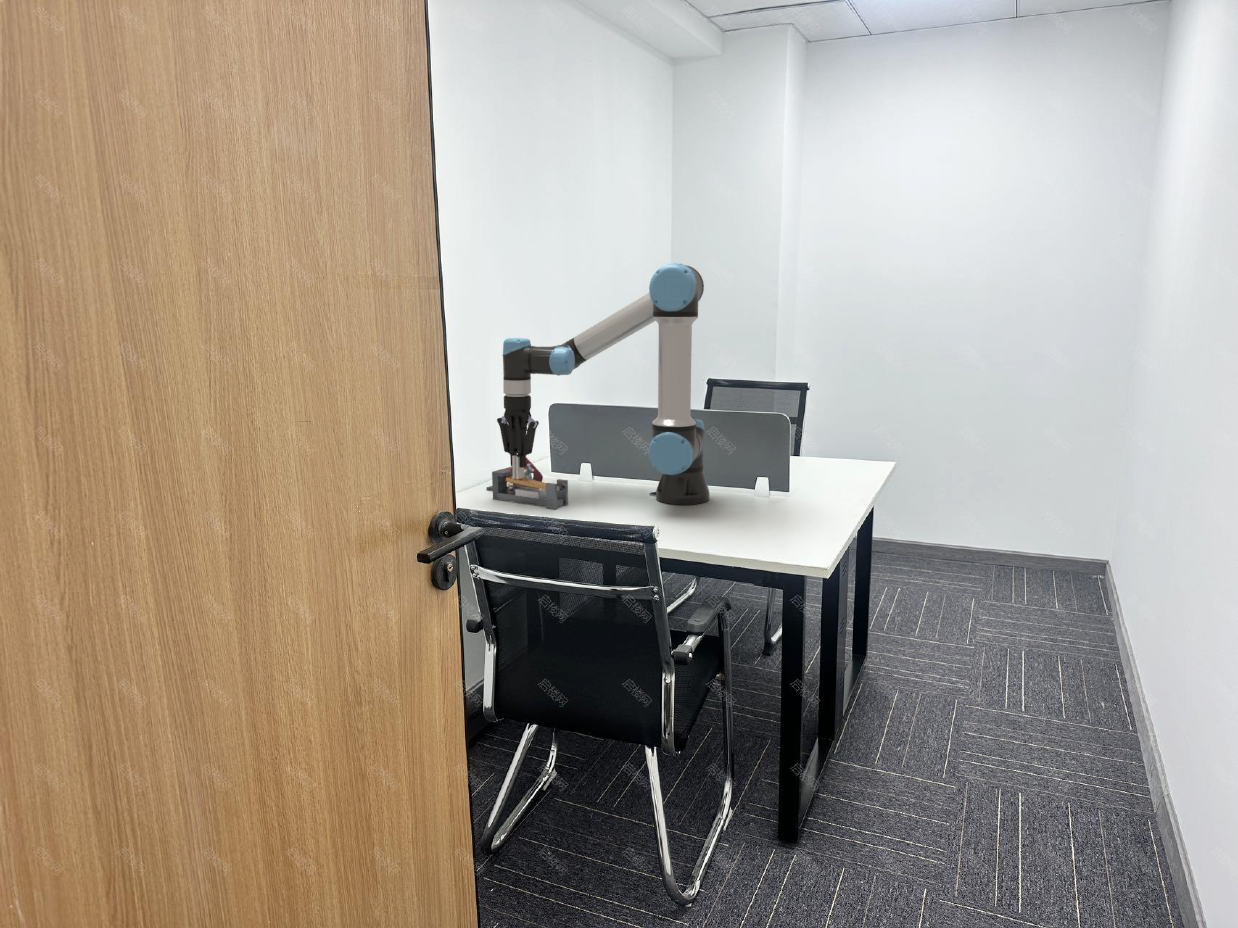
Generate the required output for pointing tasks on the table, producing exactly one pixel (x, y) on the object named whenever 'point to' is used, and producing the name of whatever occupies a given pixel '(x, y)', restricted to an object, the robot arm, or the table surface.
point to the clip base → (545, 501)
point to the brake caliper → (525, 476)
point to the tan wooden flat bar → (530, 483)
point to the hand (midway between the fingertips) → (518, 478)
